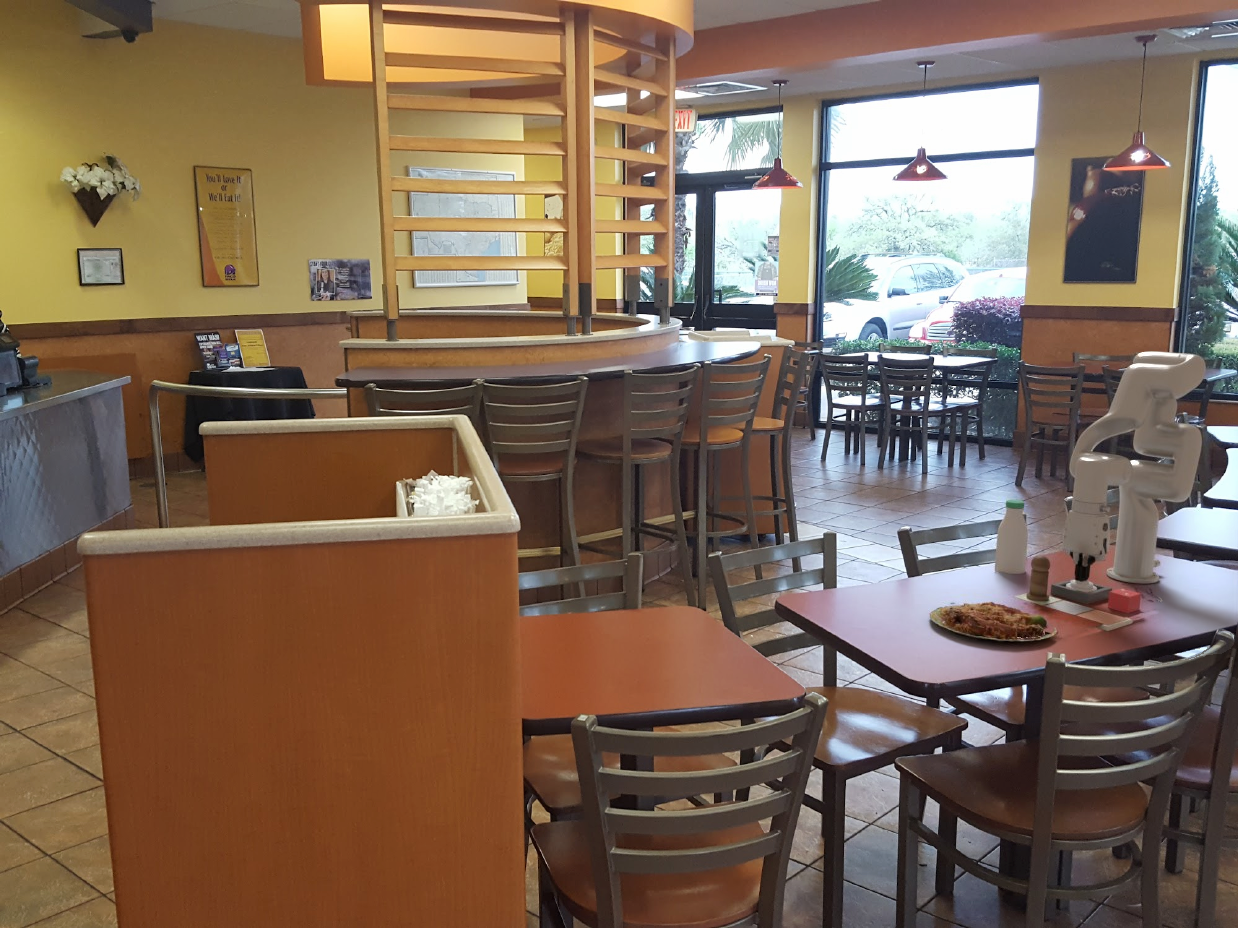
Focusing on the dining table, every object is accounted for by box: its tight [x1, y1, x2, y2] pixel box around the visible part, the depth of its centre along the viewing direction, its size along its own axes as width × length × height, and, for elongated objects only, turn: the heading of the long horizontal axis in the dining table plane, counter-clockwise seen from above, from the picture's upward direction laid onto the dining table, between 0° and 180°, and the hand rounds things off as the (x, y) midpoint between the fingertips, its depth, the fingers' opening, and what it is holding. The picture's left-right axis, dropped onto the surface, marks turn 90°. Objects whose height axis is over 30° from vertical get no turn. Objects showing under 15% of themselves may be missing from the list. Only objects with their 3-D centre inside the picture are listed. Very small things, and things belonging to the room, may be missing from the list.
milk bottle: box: [994, 499, 1029, 575], centre depth 284 cm, size 8×8×20 cm
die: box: [1107, 587, 1142, 618], centre depth 253 cm, size 5×5×5 cm
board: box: [1013, 592, 1134, 632], centre depth 254 cm, size 10×26×1 cm, turn 34°
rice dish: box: [929, 601, 1058, 642], centre depth 242 cm, size 28×28×5 cm
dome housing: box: [1050, 577, 1113, 605], centre depth 263 cm, size 10×10×4 cm
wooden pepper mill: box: [1026, 555, 1051, 601], centre depth 260 cm, size 5×5×11 cm
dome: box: [1066, 579, 1097, 593], centre depth 262 cm, size 7×7×3 cm
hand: (1081, 579), depth 262 cm, fingers closed
